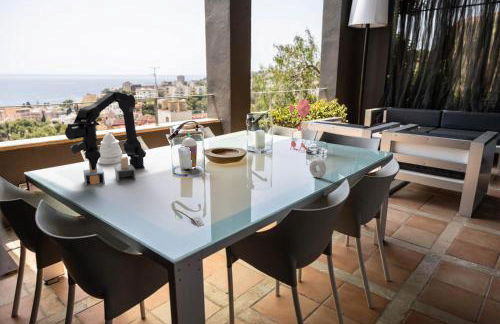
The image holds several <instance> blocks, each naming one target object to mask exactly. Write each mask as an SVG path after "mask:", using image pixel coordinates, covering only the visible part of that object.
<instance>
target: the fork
mask: <svg viewBox="0 0 500 324" xmlns="http://www.w3.org/2000/svg"><path fill="white" fill-rule="evenodd" d="M174 210H176V211H178V212H180V213H182V214H184V215H185V216H187V217H188V218H190V219H192V220H193V221H194V222H195V223H196V225H197V226H198V227H199V228H202V227H204V226H205V224H204V222H203V221H202V218H201V217H200V216H199V215H193V216H192V215H190V214H189V213H188V212H187V211H185V209H184V208H183V207H175V208H174Z"/></svg>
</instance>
